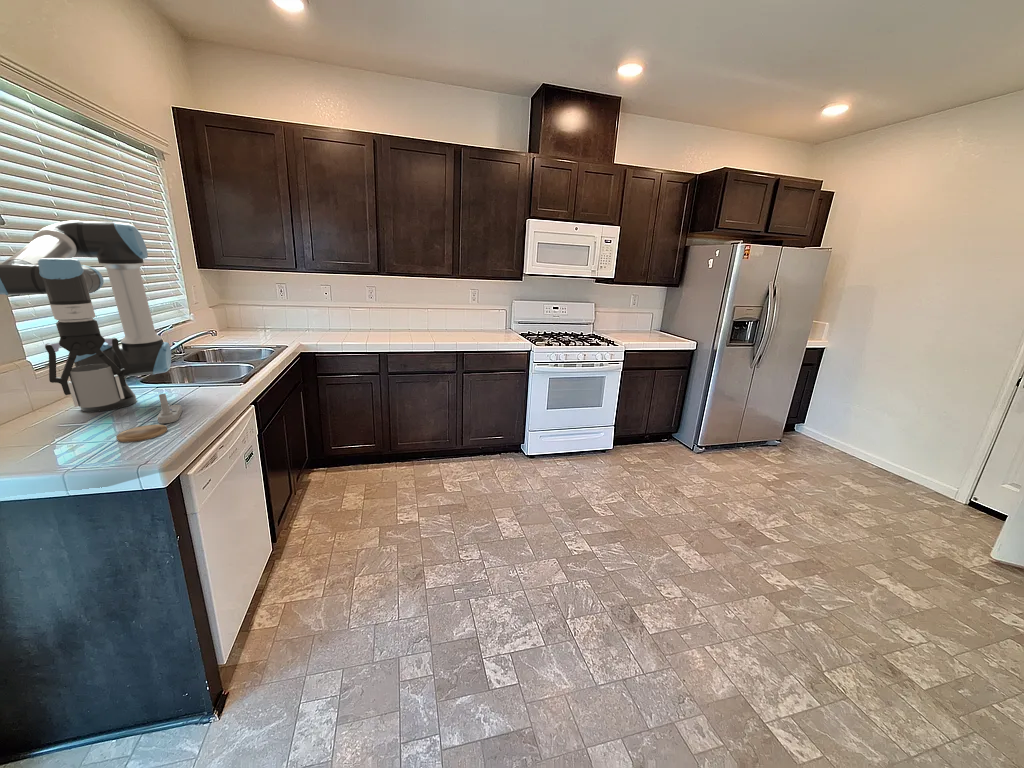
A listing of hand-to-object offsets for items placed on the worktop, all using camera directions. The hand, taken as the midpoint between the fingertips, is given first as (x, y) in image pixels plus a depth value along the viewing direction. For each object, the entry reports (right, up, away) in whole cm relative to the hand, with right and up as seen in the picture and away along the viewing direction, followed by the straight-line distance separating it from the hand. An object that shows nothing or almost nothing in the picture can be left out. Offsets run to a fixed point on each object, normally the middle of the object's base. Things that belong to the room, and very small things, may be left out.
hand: (99, 401), depth 114 cm
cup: (0, -1, 0) cm, 1 cm away
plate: (-2, -11, +16) cm, 19 cm away
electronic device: (-5, -7, +30) cm, 31 cm away
